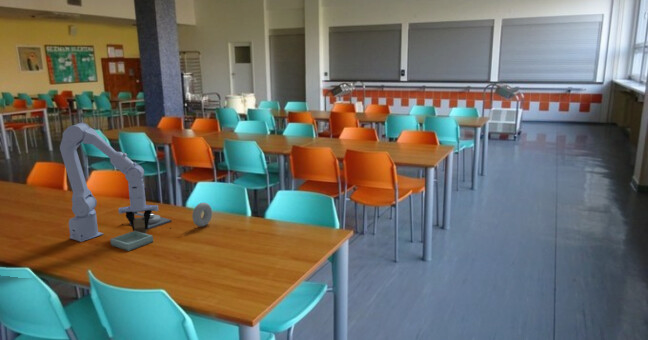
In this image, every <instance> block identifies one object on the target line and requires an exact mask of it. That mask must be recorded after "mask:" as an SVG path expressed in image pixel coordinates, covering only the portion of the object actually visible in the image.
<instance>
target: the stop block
mask: <svg viewBox="0 0 648 340" xmlns="http://www.w3.org/2000/svg"><path fill="white" fill-rule="evenodd" d="M133 222H134V231H138V232H142V233H145V234H147V232H148V230H146V229H145V219H144V217H143V216H139V217H135V219H134V221H133Z"/></svg>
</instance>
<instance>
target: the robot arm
mask: <svg viewBox="0 0 648 340" xmlns="http://www.w3.org/2000/svg"><path fill="white" fill-rule="evenodd" d="M81 143H82V144H86V145H93V146H94V147H95V148H96V149H98V150H99V151H100V152H101V153H103V154H104V155H105V156H107V157H108V158H109V162H110V164H111V165H113V166H114V167H115V168H116V169H117V170H118V171H119V172H121V174H123V175H125V176H124V177H125V179H126V181H128V182H127V183H128V195H129V206H123V207H119V208H118V215H120V214H125V217H126V219H127V220H128V221H129V223H131V225H130V226H131V228H132V232H133V231H134V222H133V221H134V219H135V218H136V217H135V215H134V212H139V213H144V219H145V229H146V230H147V229H148V222H149V218H150V215H151V213H153V212H159V205H158V204H155V205H154V204H152V205H151V204H147V202H146V192H145V182H144V175H145V170H144V168H143V166H142V165H140V164H138V163H137V162H136V161H132V159H130V158H129V157H128V154H127V153H126V152H124V153H123V152H122V151H116V150H115V149H114V148H113V147H112V146H111V145H110V144H109V143H108V142H107V141H106V140H105V139H104V138H103V137H101V136H100V135H99V134H98V132H96V130H95V129H94V128H92V127H90V126H89V124H88V123H85V122H78V123H76V124H73V125H69V126H68V127H66V129H65V130H63V132H62V138H61V142H60V145H59V150H60V153H61V157H62V160H63V163H64V168H65V171H66V173H67V174H66V175H67V177H68V180H69V184H70V187H71V190H72V195H71V197H72V198H71V202H72V206H71V210H72V213H73V215H74V217H71V218H70V219H69V220H68V229H69V239H71V240H75V241H77V242H81V243H82V242H84V241H88V240H91V239H94V238H96V237H100V236H103V235H104V232H100V231H99V229H98V228H99V227H98V219H97V211H96V210H95V208H96V207H97V204H98V203H97V199H96V198H95V197H94V195H93V193H92V191H91V190H90V189H89V188H88V185H87V182H86V181H87V180H86V178H85V175H84V172H83V167H82V165H81V164H82V163H81V160H80V158H79V154H78V151H77V149H78V148H79V147H80V145H81ZM147 231H148V230H147Z"/></svg>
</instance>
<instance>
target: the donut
mask: <svg viewBox="0 0 648 340" xmlns="http://www.w3.org/2000/svg"><path fill="white" fill-rule="evenodd" d="M202 213H203V215H202ZM212 216H213V209H212V207H211V205H210V204H209V203H207V202H200V203H198V204H197V205H196V206H195V208H194V209H193V211H192V220H193V221H192V222H193V223H194V225H196V226H197V227H205V226H207V225H208V224H209V223H210V222H211V220H212V218H213V217H212Z"/></svg>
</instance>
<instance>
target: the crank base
mask: <svg viewBox="0 0 648 340" xmlns="http://www.w3.org/2000/svg"><path fill="white" fill-rule="evenodd" d="M142 217H144V216H142ZM168 223H172V219H169V218H165V217H162V216H161V215H159V214H154V217H153V218H149V222H148V229H147V231H148V230H152V229H154V228H157V227H160V226H163V225H165V224H168ZM128 225H130V226H131V223H130V222H129V223H128Z"/></svg>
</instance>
